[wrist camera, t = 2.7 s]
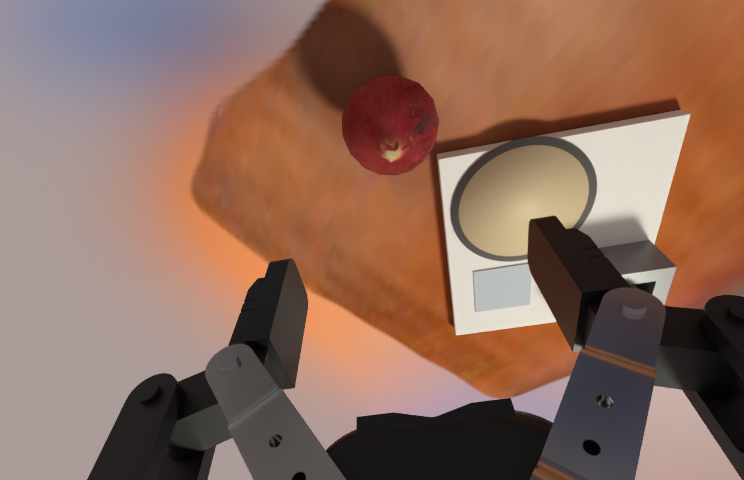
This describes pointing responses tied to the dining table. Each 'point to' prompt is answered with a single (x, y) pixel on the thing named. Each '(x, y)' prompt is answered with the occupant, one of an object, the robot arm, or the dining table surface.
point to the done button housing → (643, 266)
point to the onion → (390, 125)
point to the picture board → (548, 207)
